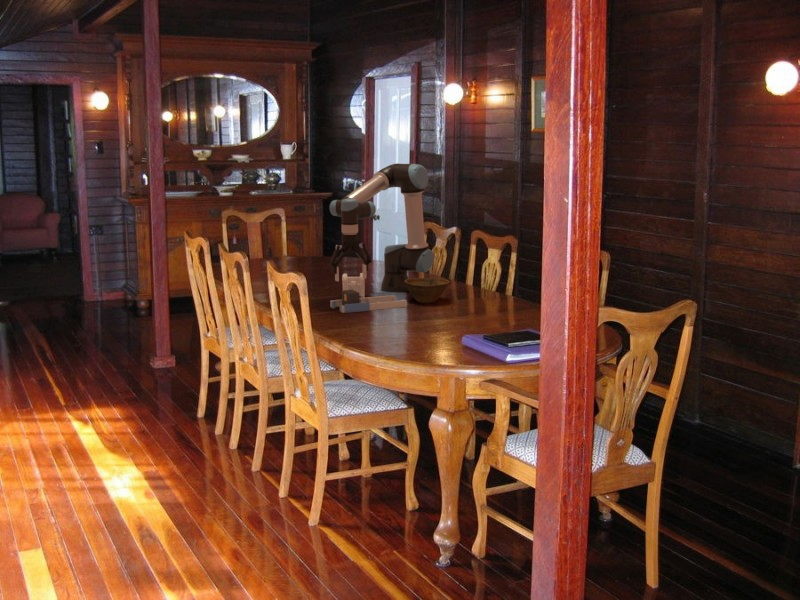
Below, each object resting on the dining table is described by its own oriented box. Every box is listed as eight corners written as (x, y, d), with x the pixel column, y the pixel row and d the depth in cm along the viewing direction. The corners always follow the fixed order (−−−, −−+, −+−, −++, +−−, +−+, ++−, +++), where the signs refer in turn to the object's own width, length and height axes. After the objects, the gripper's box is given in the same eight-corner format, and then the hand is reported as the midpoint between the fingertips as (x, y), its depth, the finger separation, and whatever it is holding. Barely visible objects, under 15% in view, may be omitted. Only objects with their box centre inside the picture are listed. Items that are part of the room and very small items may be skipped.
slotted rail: (392, 301, 442) (392, 293, 441) (407, 307, 428) (407, 299, 427) (330, 306, 428) (330, 298, 428) (343, 313, 414) (343, 304, 414)
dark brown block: (352, 306, 430) (352, 289, 428) (359, 310, 422) (359, 292, 420) (341, 307, 427) (341, 290, 426) (349, 311, 420) (349, 293, 418)
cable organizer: (364, 301, 443) (364, 277, 441) (342, 301, 442) (342, 277, 440) (363, 295, 457) (363, 272, 455) (342, 295, 457) (342, 272, 454)
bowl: (456, 299, 448) (457, 278, 446) (438, 307, 428) (439, 286, 426) (415, 295, 457) (415, 275, 455) (396, 303, 437) (396, 282, 435)
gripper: (371, 230, 427) (372, 275, 431) (321, 234, 416) (322, 280, 420) (378, 232, 420) (379, 278, 424) (327, 236, 409) (328, 283, 414)
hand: (350, 279), depth 422 cm, fingers open, 13 cm apart
